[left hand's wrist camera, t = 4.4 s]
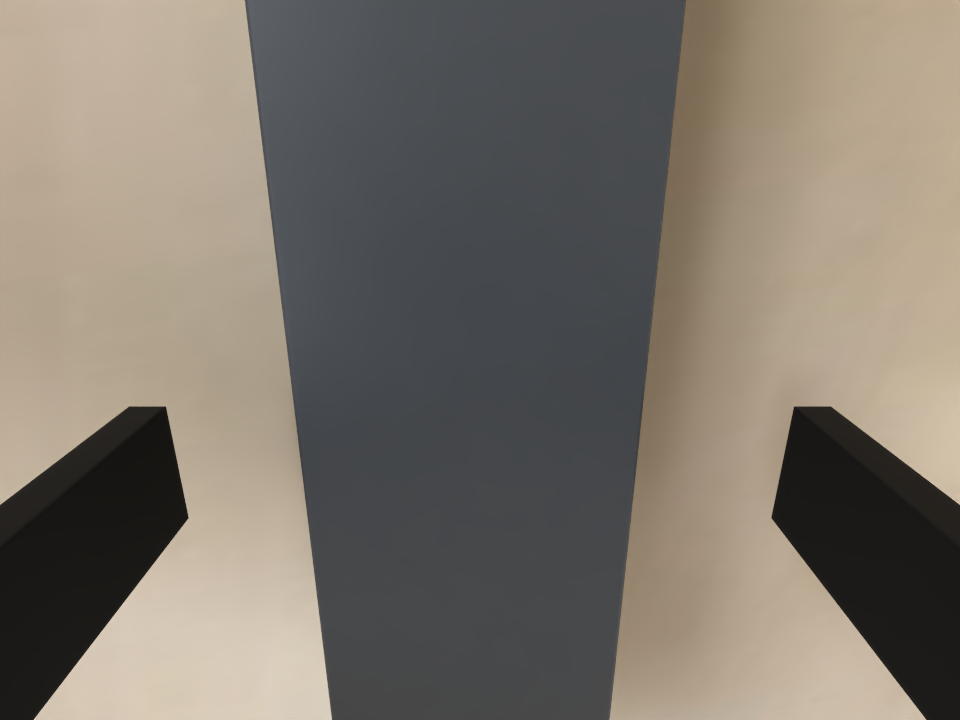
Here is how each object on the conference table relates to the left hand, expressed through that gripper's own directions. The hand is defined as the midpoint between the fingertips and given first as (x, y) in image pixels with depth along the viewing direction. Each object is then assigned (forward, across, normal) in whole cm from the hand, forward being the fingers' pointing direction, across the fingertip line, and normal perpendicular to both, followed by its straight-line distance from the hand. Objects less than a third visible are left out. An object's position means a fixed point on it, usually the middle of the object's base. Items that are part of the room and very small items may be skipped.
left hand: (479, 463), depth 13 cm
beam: (+4, 0, -36) cm, 36 cm away
